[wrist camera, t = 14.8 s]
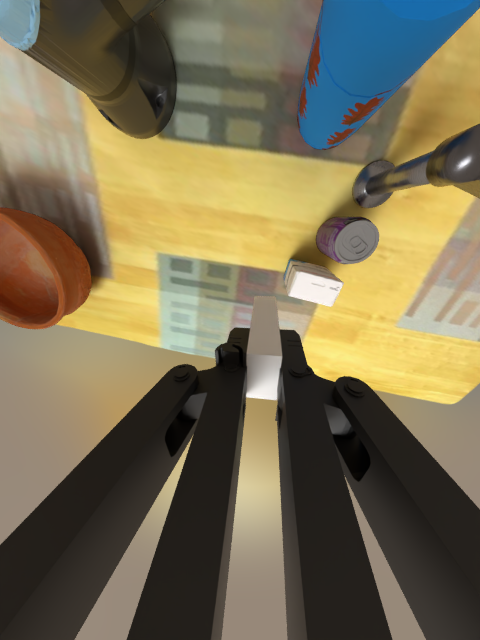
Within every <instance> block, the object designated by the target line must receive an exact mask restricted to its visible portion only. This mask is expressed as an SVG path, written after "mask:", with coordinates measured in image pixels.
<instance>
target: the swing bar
mask: <svg viewBox="0 0 480 640" xmlns="http://www.w3.org/2000/svg"><path fill="white" fill-rule="evenodd" d="M426 177H427V180H428V181H429V183H430V184H432V185H434V186H437V187H444V186H449V185H454V186H456V187H458V188H460V189H462V190H464V191H466V192H468V193H470V194H472V195H474V196H476V197H478V198H480V124H478V125H476V126H474V127H471V128H469V129H467V130H465V131H462V132H460V133H458V134H456V135H454V136H451V137H449V138H448V139H446V140H445V141H443V142H442V143H441V144H440V145H439V146H438V147H437V148H436V149H435V150H434V152H433V153H432V155H431V156H430V158H429V160H428V163H427V166H426Z"/></svg>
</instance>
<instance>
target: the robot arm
mask: <svg viewBox="0 0 480 640" xmlns="http://www.w3.org/2000/svg"><path fill="white" fill-rule="evenodd" d="M164 1H165V0H0V36H1V37H2V38H3V39H4V40H5V41H6V42H7V43H9V44H10V45H12V46H14V47H15V48H18V49H19V50H21V51H22V52H24V53H25V54H27V55H28V56H30V57H31V58H33V59H34V60H36V61H37V62H39V63H40V64H42V65H43V66H45V67H46V68H48V69H49V70H51V71H52V72H54V73H55V74H57V75H58V76H60V77H61V78H63V79H64V80H66V81H67V82H69V83H70V84H72V85H73V86H75V87H76V88H78V89H79V90H81V91H83V92H84V93H85V94H86V95H87V96H88V97H89V99H90V100H91V101H92V102H93V104H94V105H95V106H96V107H97V109H98V110H99V111H100V113H101V114H102V115H103V116H104V117H105V118H106V120H107V121H109V122H110V123H111V124H112V125H113V126H114V127H116V128H117V129H119V130H120V131H122V132H124V133H125V134H127V135H129V136H131V137H134V138H139V139H146V138H150V137H153V136H155V135H157V134H158V133H159V132H160V131H162V129H163V128H164V127H165V126H166V124H167V123H168V121H169V119H170V117H171V114H172V112H173V108H174V104H175V98H176V75H175V69H174V64H173V60H172V56H171V53H170V50H169V48H168V45H167V43H166V41H165V39H164V37H163V35H162V33H161V32H160V30H159V28H158V26H157V25H156V23H155V21H154V20H153V18H152V17H151V16H150V13H151V12H152V11H153V10H154V9H156V8H157V7H158V6H159V5H160V4H161V3H163V2H164ZM215 357H216V366H215V367H213V368H211V369H208V370H202V371H197V369H196V368H195V367H194V366H192V365H188V364H183V365H178V366H176V367H174V368H172V369H171V370H170V371H168V372H167V373H166V374H165V375H164V377H162V379H161V380H160V381H159V382H158V383H157V384H156V385H155V386H154V387H153V388H152V389H151V390H150V391H149V392H148V393H147V394H146V395H145V396H144V397H143V398H142V399H141V400H140V401H139V402H138V403H137V405H136V406H134V407H133V408H132V409H131V411H130V412H129V413H128V414H127V415H126V416H125V417H124V418H123V419H122V420H121V421H120V422H119V423H118V424H117V425H116V426H115V427H114V428H113V429H112V430H111V431H110V432H109V433H108V434H107V435H106V436H105V437H104V438H103V439H102V440H101V442H100V443H99V444H98V445H97V446H96V447H95V448H94V449H93V450H92V451H91V452H90V453H89V454H88V455H87V456H86V457H85V458H84V459H83V460H82V461H81V462H80V463H79V464H78V465H77V466H76V467H75V468H74V469H73V471H71V473H70V474H69V475H68V476H67V477H66V478H65V479H64V480H63V481H62V482H61V483H60V484H59V485H58V486H57V487H56V488H55V489H54V490H53V491H52V492H51V493H50V494H49V495H48V496H47V497H46V498H45V499H44V501H42V502H41V503H40V505H39V506H38V507H37V508H36V509H35V510H34V511H33V512H32V513H31V514H30V515H29V516H28V517H27V518H26V519H25V520H24V521H23V522H22V523H21V524H20V525H19V526H18V527H17V528H16V529H15V531H13V533H11V535H10V536H9V537H8V538H7V539H6V540H5V541H4V542H3V543H2V544H1V545H0V640H74V639H75V638H76V636H77V634H78V632H79V631H80V629H81V627H82V625H83V624H84V622H85V620H86V619H87V617H88V615H89V613H90V611H91V610H92V608H93V607H94V605H95V603H96V601H97V599H98V598H99V596H100V594H101V593H102V591H103V589H104V588H105V586H106V584H107V582H108V581H109V579H110V577H111V575H112V574H113V572H114V570H115V569H116V567H117V565H118V563H119V561H120V560H121V558H122V557H123V555H124V553H125V551H126V550H127V548H128V546H129V545H130V543H131V541H132V539H133V537H134V536H135V534H136V532H137V531H138V529H139V527H140V526H141V524H142V522H143V520H144V519H145V517H146V515H147V513H148V512H149V510H150V508H151V507H152V505H153V503H154V501H155V500H156V498H157V496H158V495H159V493H160V491H161V489H162V488H163V486H164V484H165V482H166V481H167V479H168V477H169V476H170V474H171V472H172V470H173V469H174V467H175V465H176V464H177V462H178V460H179V458H180V457H181V455H182V453H183V451H184V450H185V448H186V446H187V445H188V443H189V441H190V439H191V438H192V436H193V438H192V441H191V444H190V447H189V450H188V453H187V457H186V460H185V463H184V466H183V469H182V472H181V475H180V478H179V481H178V484H177V487H176V490H175V493H174V496H173V499H172V502H171V506H170V509H169V512H168V515H167V518H166V521H165V524H164V527H163V530H162V533H161V536H160V539H159V542H158V545H157V548H156V551H155V555H154V558H153V561H152V564H151V567H150V570H149V573H148V576H147V579H146V582H145V585H144V588H143V591H142V594H141V597H140V600H139V603H138V607H137V609H136V613H135V616H134V619H133V622H132V625H131V628H130V631H129V634H128V637H127V640H221V637H222V628H223V617H224V609H225V608H224V607H225V599H226V589H227V579H228V569H229V561H230V560H229V559H230V550H231V542H232V532H233V523H234V513H235V504H236V494H237V485H238V475H239V466H240V456H241V447H242V437H243V427H244V418H245V409H246V397H251V398H261V399H272V400H277V399H278V405H277V412H276V419H275V420H276V421H277V426H278V447H279V469H280V487H281V510H282V532H283V551H284V573H285V594H286V614H287V636H288V640H392V637H391V633H390V630H389V626H388V623H387V620H386V616H385V613H384V609H383V606H382V603H381V599H380V596H379V592H378V589H377V586H376V583H375V579H374V575H373V572H372V569H371V565H370V562H369V558H368V555H367V552H366V548H365V544H364V541H363V538H362V534H361V531H360V527H359V524H358V521H357V517H356V514H355V510H354V507H353V504H352V500H351V497H350V493H349V490H348V487H347V483H346V480H345V477H346V479H347V481H348V483H349V485H350V487H351V489H352V491H353V493H354V495H355V497H356V499H357V501H358V503H359V505H360V507H361V509H362V511H363V513H364V515H365V517H366V519H367V521H368V523H369V525H370V527H371V529H372V531H373V533H374V535H375V537H376V539H377V541H378V543H379V545H380V547H381V549H382V551H383V553H384V555H385V557H386V560H387V561H388V564H389V566H390V567H391V570H392V572H393V574H394V575H395V578H396V579H397V582H398V583H399V585H400V588H401V590H402V592H403V594H404V596H405V598H406V599H407V602H408V604H409V606H410V608H411V609H412V611H413V614H414V616H415V618H416V620H417V622H418V624H419V626H420V628H421V630H422V632H423V634H424V636H425V638H426V640H480V509H479V508H478V507H477V506H476V505H475V504H474V503H473V501H472V500H471V499H470V498H469V497H468V496H467V495H466V494H465V492H464V491H463V490H462V489H461V488H460V487H459V486H458V485H457V483H456V482H455V481H454V480H453V479H452V478H451V477H450V476H449V475H448V473H447V472H446V471H445V470H444V469H443V468H442V467H441V466H440V465H439V463H438V462H437V461H436V460H435V459H434V458H433V457H432V456H431V455H430V453H429V452H428V451H427V450H426V449H425V448H424V447H423V446H422V444H421V443H420V442H419V441H418V440H417V439H416V438H415V437H414V436H413V434H412V433H411V432H410V431H409V430H408V429H407V428H406V427H405V425H403V423H402V422H401V421H400V420H399V419H398V418H397V417H396V415H395V414H394V413H393V412H392V411H391V410H390V409H389V408H388V407H387V406H386V404H385V403H384V402H383V401H382V400H381V399H380V398H379V396H378V395H377V394H376V393H375V392H374V391H373V390H372V389H371V388H370V387H369V386H368V385H367V384H366V383H365V382H363V381H361V380H359V379H357V378H353V377H347V376H343V377H340V378H338V379H337V380H336V382H333V381H330V380H326V379H323V378H321V377H319V376H317V375H315V374H314V372H313V370H312V368H310V367H309V366H308V365H307V362H306V358H305V354H304V351H303V347H302V343H301V339H300V336H299V334H298V333H297V332H296V331H295V330H280V329H279V321H278V312H277V303H276V297H272V296H255V298H254V305H253V312H252V319H251V326H250V328H234V329H233V330H232V331H231V332H230V334H229V338H228V341H227V343H224V344H221V345H220V346H218V347H217V348H216V350H215ZM193 434H194V435H193ZM344 475H345V476H344Z"/></svg>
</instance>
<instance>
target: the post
mask: <svg viewBox="0 0 480 640" xmlns="http://www.w3.org/2000/svg"><path fill="white" fill-rule="evenodd" d="M433 152H434V151H432V152H430V153H427V154H425V155H422V156H420V157H417V158H415V159H413V160H410V161H408V162H405V163H403V164H400V165H398V166H396V167H395V166H394V165H393V164H392V163H390V162H388V161H377V162H374V163H372V164H370V165H368V166H367V167H365V168H364V169H363V170H362V171H361V172H360V173H359V175H358V176H357V178H356V179H355V182H354V185H353V189H352V194H353V199H354V201H355V203H356V204H357V205H359V206H360V207H363V208H373V207H376V206H379V205H381V204H382V203H384V202H385V201H386V200H387V199H388V198H389V197H390V196H391V195H392V193H393V192H394V191H398V190H402V189H407V188H411V187H416V186H421V185H425V184H430V183H429V181H428V180H427V177H426V166H427V163H428V160H429V158H430V156H431V155H432V153H433Z"/></svg>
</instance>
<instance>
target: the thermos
mask: <svg viewBox="0 0 480 640" xmlns="http://www.w3.org/2000/svg"><path fill="white" fill-rule="evenodd" d="M479 8H480V0H323V3H322V7H321V11H320V15H319V19H318V23H317V27H316V31H315V35H314V39H313V43H312V47H311V51H310V55H309V59H308V63H307V67H306V71H305V75H304V79H303V83H302V87H301V91H300V97H299V104H298V117H297V120H298V125H299V130H300V133H301V135H302V137H303V138H304V140H305V142H306V143H307V144H309V145H310V146H312V147H313V148H315V149H322V150H326V149H330V148H333V147H336V146H338V145H339V144H340V143H342V142H343V141H344V140H346V139H347V138H348V137H350V136H351V135H352V134H353V133H355V132H356V131H357V130H358V129H359V128H360V127H361V126H362V125H363V124H364V123H365V122H366V121H367V120H368V119H369V118H370V117H371V116H372V115H373V114H374V113H375V112H376V111H377V110H378V109H379V108H380V107H381V106H382V105H383V104H384V103H385V102H386V101H387V100H388V99H389V98H390V97H391V96H392V95H393V94H394V93H395V92H396V91H397V90H398V89H399V88H400V87H401V86H402V85H403V84H404V83H405V82H406V81H407V80H408V79H409V78H410V77H411V76H412V75H413V74H414V73H415V72H416V71H417V70H418V69H419V68H420V67H421V66H422V65H423V64H424V63H425V62H426V61H427V60H428V59H429V58H430V57H431V56H432V55H433V54H434V53H435V52H436V51H437V50H438V49H439V48H440V47H441V46H442V45H443V44H444V43H445V42H446V41H447V40H448V39H449V38H450V37H451V36H452V35H453V34H454V33H455V32H456V31H457V30H458V29H459V28H460V27H461V26H462V25H463V24H464V23H465V22H466V21H467V20H468V19H469V18H470V17H471V16H472V15H473V14H474V13H475V12H476V11H477V10H478V9H479Z"/></svg>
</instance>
